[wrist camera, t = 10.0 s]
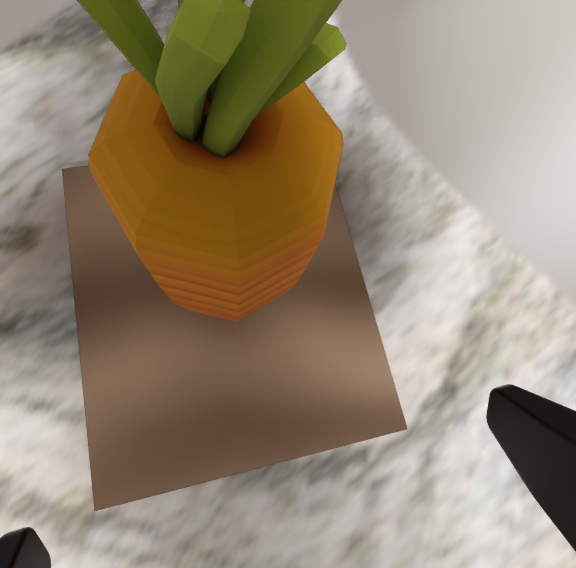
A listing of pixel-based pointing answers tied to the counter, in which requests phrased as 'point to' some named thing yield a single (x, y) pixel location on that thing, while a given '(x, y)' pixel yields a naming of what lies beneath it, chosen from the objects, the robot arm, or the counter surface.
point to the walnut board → (217, 364)
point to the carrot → (220, 146)
